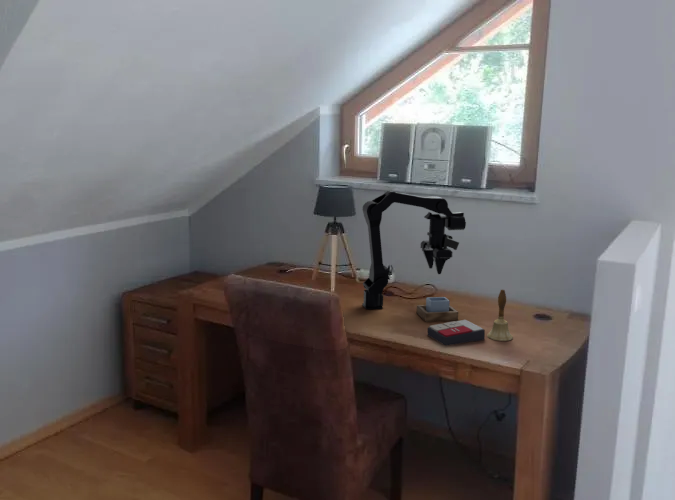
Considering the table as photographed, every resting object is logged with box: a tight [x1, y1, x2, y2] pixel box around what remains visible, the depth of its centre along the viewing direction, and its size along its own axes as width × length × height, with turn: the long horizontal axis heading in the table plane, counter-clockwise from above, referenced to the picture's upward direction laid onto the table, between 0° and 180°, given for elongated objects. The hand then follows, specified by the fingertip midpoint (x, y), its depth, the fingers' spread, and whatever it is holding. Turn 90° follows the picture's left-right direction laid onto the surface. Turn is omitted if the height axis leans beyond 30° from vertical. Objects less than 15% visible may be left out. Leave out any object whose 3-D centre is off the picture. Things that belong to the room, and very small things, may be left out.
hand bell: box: [486, 289, 514, 342], centre depth 216 cm, size 8×8×16 cm
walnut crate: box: [416, 304, 459, 323], centre depth 238 cm, size 12×10×3 cm
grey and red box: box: [427, 319, 486, 346], centre depth 217 cm, size 11×4×15 cm
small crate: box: [425, 296, 450, 312], centre depth 238 cm, size 7×5×6 cm
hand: (434, 271), depth 251 cm, fingers open, 9 cm apart
